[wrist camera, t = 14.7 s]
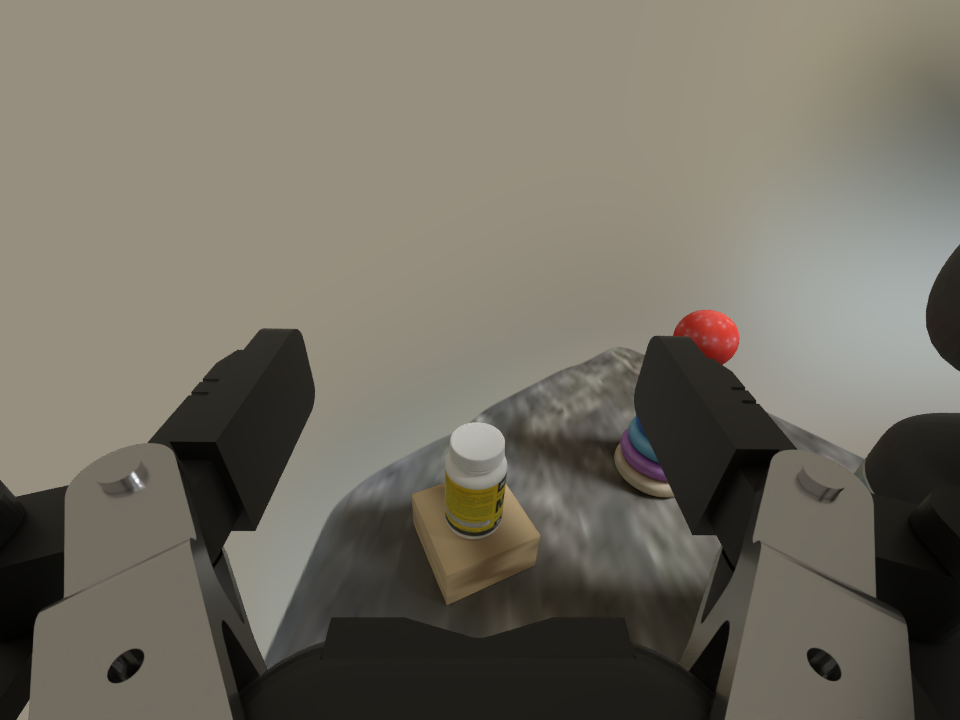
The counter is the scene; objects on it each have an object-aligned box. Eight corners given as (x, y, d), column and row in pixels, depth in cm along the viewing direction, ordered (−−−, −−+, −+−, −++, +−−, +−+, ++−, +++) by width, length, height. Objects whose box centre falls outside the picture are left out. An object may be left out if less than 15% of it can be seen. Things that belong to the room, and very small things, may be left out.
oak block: (491, 495, 42) (494, 466, 40) (535, 565, 36) (540, 535, 34) (413, 523, 39) (411, 494, 37) (446, 605, 33) (446, 576, 31)
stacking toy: (652, 513, 41) (720, 345, 31) (597, 458, 47) (638, 301, 37) (707, 484, 45) (784, 325, 35) (649, 436, 50) (700, 287, 40)
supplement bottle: (504, 541, 34) (513, 465, 29) (443, 541, 33) (442, 464, 29) (499, 492, 38) (507, 418, 33) (445, 492, 37) (445, 417, 33)
